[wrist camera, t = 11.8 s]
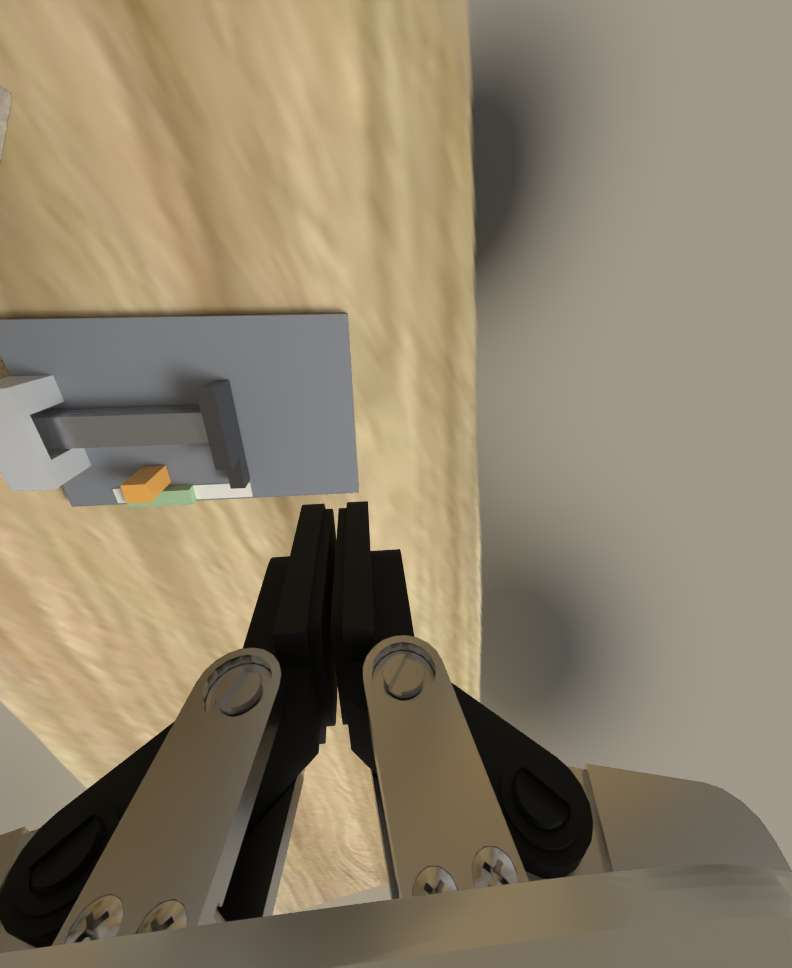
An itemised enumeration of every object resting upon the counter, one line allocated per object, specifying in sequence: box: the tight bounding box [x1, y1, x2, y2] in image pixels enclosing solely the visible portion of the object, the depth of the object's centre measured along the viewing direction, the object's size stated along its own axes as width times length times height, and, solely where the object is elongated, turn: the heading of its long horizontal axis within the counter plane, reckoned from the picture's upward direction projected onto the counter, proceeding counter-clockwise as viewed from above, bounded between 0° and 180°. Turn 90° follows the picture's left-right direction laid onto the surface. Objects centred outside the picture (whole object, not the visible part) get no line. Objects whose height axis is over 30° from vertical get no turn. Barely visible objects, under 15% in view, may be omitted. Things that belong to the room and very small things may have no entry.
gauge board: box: [0, 313, 359, 507], centre depth 29 cm, size 15×25×5 cm, turn 91°
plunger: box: [30, 380, 250, 489], centre depth 29 cm, size 9×15×4 cm, turn 91°
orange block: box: [120, 465, 171, 504], centre depth 31 cm, size 2×2×4 cm
